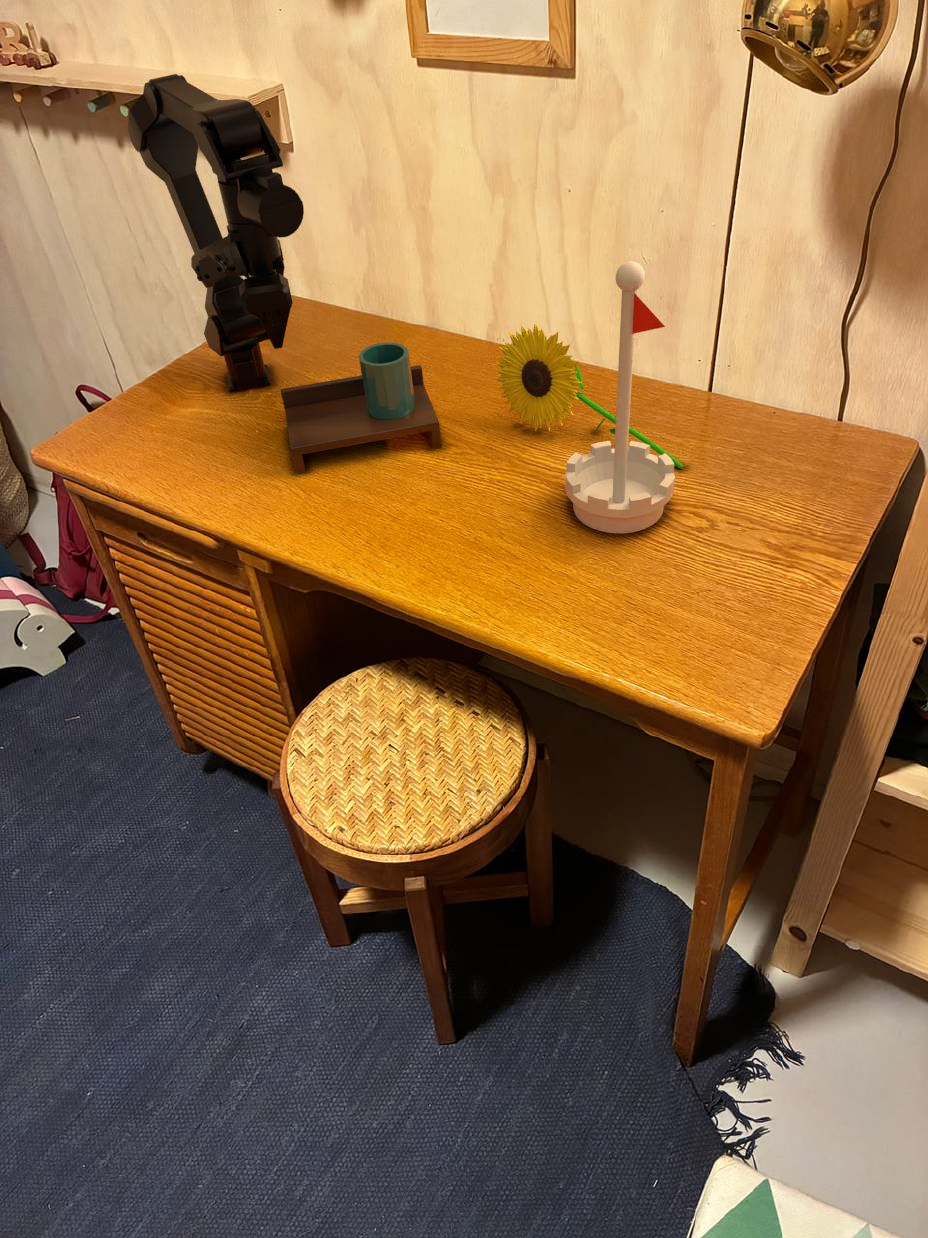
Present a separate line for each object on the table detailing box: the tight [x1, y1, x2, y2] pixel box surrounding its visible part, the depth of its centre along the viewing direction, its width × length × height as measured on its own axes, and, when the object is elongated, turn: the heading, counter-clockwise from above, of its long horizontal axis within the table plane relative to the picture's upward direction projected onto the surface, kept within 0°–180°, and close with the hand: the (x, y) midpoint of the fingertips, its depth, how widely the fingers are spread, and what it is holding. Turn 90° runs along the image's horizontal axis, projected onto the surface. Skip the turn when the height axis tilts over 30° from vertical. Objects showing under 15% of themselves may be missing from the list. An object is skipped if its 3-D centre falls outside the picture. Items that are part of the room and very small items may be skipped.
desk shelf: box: [280, 364, 442, 474], centre depth 126 cm, size 12×20×6 cm, turn 103°
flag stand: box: [564, 261, 676, 534], centre depth 102 cm, size 13×13×30 cm
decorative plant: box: [494, 321, 684, 470], centre depth 121 cm, size 15×6×30 cm
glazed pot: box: [357, 341, 415, 420], centre depth 124 cm, size 7×7×8 cm
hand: (275, 333), depth 126 cm, fingers open, 9 cm apart
